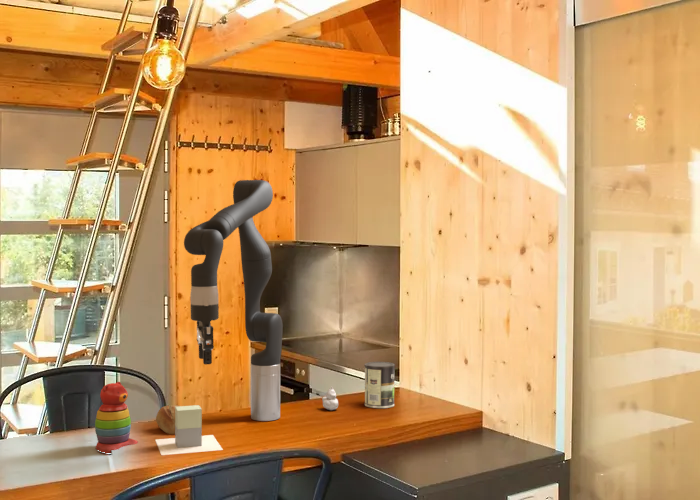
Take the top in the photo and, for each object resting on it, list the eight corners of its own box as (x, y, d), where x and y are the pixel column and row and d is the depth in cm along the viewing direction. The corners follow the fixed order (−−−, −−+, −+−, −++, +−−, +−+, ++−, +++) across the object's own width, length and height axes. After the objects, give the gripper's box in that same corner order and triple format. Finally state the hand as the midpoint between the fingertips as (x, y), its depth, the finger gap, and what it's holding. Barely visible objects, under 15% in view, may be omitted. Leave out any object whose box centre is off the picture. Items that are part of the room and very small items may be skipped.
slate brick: (177, 447, 213) (177, 429, 213) (175, 443, 218) (175, 424, 218) (201, 445, 215) (201, 427, 215) (198, 441, 220) (198, 423, 220)
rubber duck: (331, 412, 260) (331, 388, 260) (317, 409, 265) (317, 385, 265) (342, 409, 264) (342, 385, 264) (328, 406, 269) (328, 383, 269)
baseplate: (155, 443, 222) (155, 439, 222) (212, 439, 227) (212, 434, 227) (161, 459, 206) (161, 455, 206) (223, 454, 212) (223, 449, 212)
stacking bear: (111, 456, 210) (111, 388, 209) (85, 450, 215) (85, 384, 215) (142, 446, 219) (142, 381, 218) (116, 441, 224) (116, 378, 224)
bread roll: (163, 441, 225) (163, 412, 225) (150, 429, 238) (150, 402, 238) (196, 437, 229) (196, 409, 229) (182, 425, 243) (182, 399, 242)
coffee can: (393, 401, 277) (394, 361, 276) (395, 408, 266) (395, 366, 266) (364, 401, 277) (364, 361, 276) (364, 408, 267) (364, 366, 266)
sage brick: (177, 429, 213) (177, 410, 213) (175, 424, 218) (175, 406, 218) (201, 427, 215) (201, 409, 215) (198, 423, 220) (198, 405, 220)
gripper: (187, 300, 224) (188, 357, 224) (194, 305, 210) (194, 367, 211) (214, 299, 226) (214, 356, 227) (222, 304, 212) (223, 365, 213)
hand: (205, 361), depth 219 cm, fingers open, 8 cm apart
